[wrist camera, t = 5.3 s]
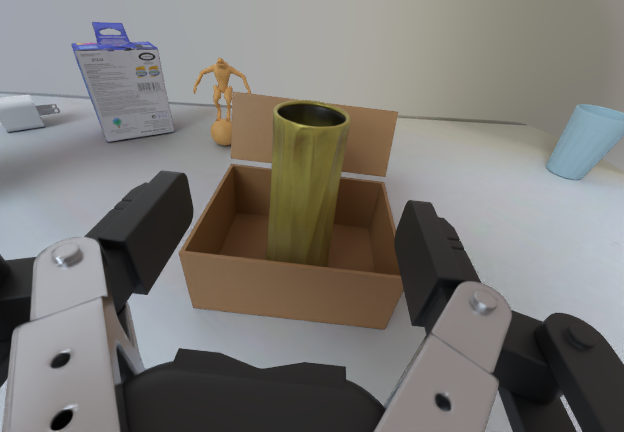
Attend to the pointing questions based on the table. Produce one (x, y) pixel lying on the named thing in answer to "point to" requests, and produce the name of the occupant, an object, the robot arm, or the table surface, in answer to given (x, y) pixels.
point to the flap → (364, 122)
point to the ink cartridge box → (124, 84)
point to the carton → (288, 276)
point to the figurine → (222, 71)
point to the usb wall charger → (22, 113)
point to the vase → (305, 180)
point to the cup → (586, 140)
